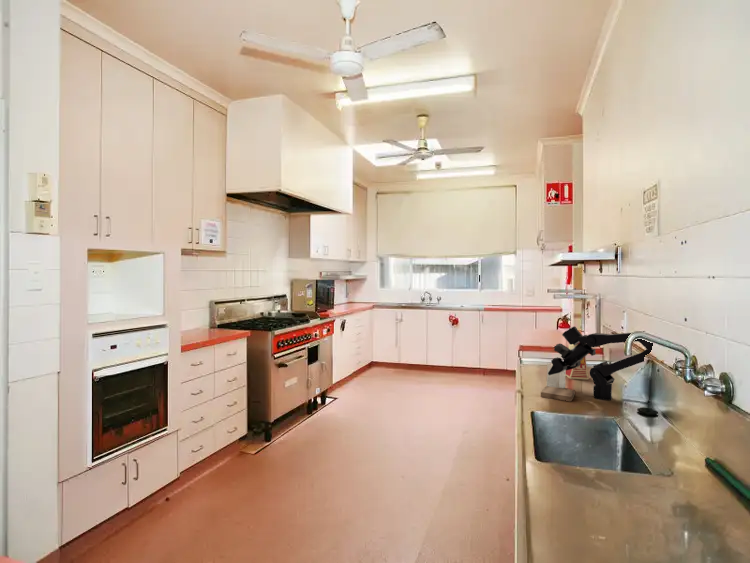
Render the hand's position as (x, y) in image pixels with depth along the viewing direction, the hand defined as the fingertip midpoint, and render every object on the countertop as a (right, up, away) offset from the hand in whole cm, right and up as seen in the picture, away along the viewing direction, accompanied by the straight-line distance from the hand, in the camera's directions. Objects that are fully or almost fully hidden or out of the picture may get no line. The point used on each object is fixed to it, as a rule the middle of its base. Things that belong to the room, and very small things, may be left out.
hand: (553, 372), depth 207 cm
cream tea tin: (+1, -7, -1) cm, 7 cm away
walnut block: (-4, -7, -14) cm, 16 cm away
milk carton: (+20, -7, +21) cm, 30 cm away
